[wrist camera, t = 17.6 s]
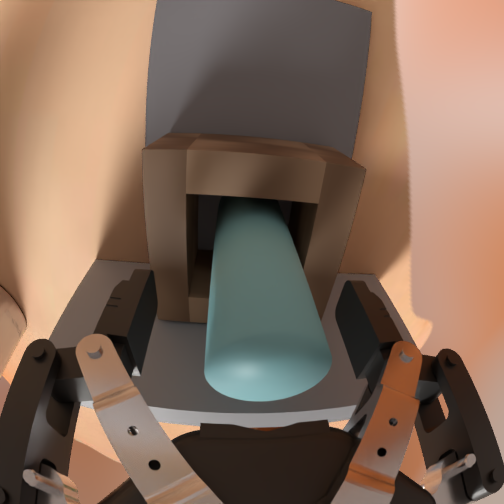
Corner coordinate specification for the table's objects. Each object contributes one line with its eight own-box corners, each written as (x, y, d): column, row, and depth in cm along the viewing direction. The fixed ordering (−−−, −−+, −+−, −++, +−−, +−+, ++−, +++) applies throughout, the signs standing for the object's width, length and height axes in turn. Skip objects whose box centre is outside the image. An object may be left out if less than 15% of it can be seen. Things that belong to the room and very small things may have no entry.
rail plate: (155, 260, 21) (153, 268, 20) (163, -9, 11) (159, -14, 10) (318, 269, 22) (321, 276, 22) (365, 15, 12) (371, 12, 11)
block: (171, 271, 20) (157, 319, 16) (168, 132, 15) (142, 149, 11) (304, 278, 21) (319, 325, 17) (332, 147, 16) (366, 169, 12)
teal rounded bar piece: (217, 236, 19) (206, 401, 9) (219, 180, 17) (201, 330, 7) (275, 238, 19) (314, 398, 9) (282, 184, 17) (349, 329, 7)
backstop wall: (100, 278, 22) (45, 394, 12) (95, 259, 21) (31, 376, 11) (367, 292, 24) (421, 402, 14) (375, 274, 23) (436, 386, 13)
